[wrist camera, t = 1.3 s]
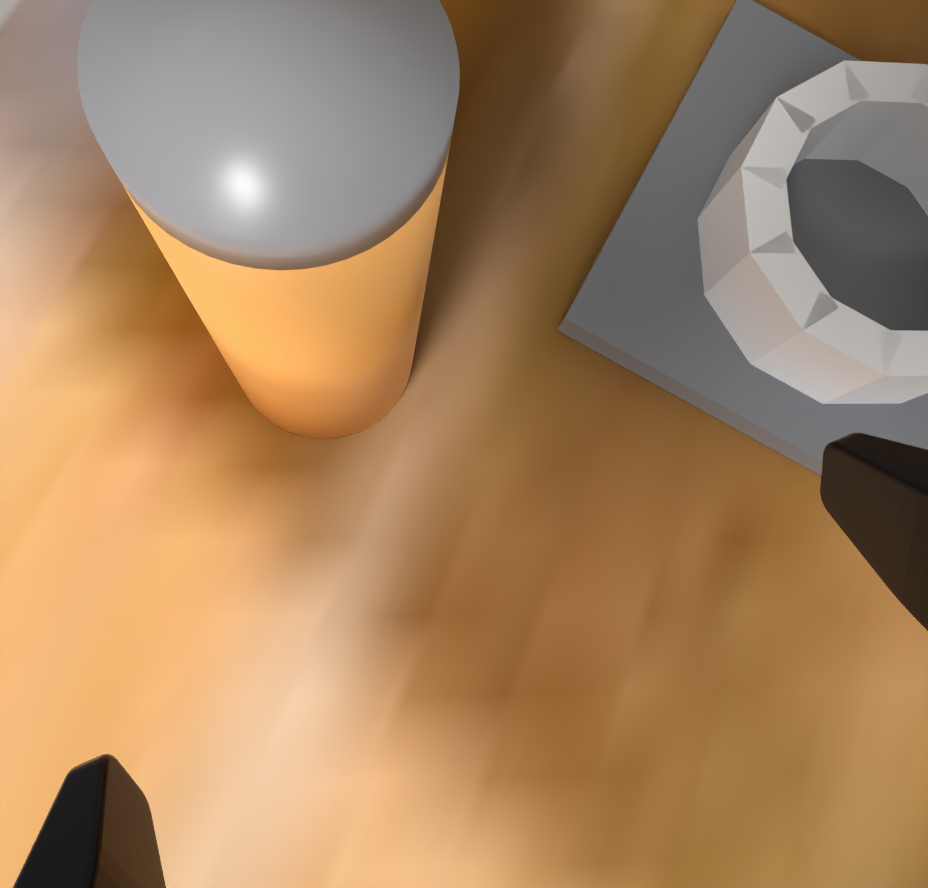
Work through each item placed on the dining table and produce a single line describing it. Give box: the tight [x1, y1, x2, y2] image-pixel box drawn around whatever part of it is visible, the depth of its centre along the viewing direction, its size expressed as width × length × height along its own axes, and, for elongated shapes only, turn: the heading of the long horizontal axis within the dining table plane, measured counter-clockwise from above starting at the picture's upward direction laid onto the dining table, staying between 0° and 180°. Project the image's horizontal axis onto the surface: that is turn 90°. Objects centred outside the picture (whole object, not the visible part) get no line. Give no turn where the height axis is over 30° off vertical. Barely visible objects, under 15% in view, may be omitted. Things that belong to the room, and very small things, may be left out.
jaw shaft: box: [77, 0, 460, 439], centre depth 18 cm, size 5×5×13 cm
